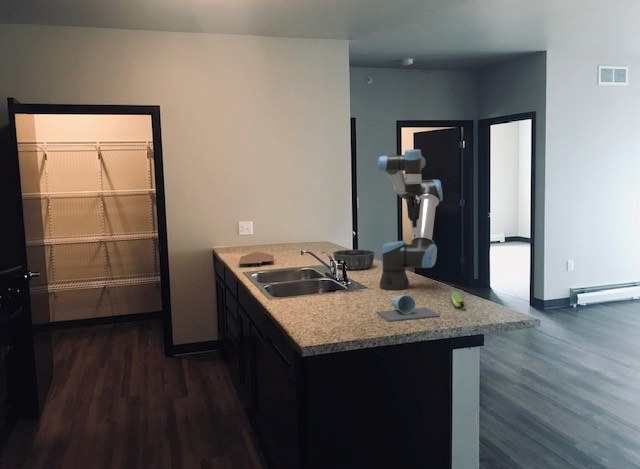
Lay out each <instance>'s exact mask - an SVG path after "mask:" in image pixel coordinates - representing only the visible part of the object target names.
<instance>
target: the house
mask: <svg viewBox="0 0 640 469" xmlns="http://www.w3.org/2000/svg"><path fill="white" fill-rule="evenodd" d="M274 256H275V255H274V254H270V253H266V252H265V253H264V252H262V251H255V252H251V253H247V254H245V255H242V256H240V259H239V262H238V264H239V265H240V266H239V267H241V266H242V265H244V267H247V264H252V265H253V266H256V265H258V264H259V267H260V266H262V263H263V264H264V263H265V264H266V263H267V262H269V263H272V262H275V257H274ZM241 268H242V267H241Z"/></svg>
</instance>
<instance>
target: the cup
mask: <svg viewBox="0 0 640 469" xmlns="http://www.w3.org/2000/svg"><path fill="white" fill-rule="evenodd" d="M391 305H392V307H393V308H394V309H395V310H399V311H400V312H401V313H403V314H410V313H411V312H413V311H414V309H415V308H416V300H415V299H414V297H412V296H411V295H407V294H405V295H397V296H394V297H393V298H392V300H391Z"/></svg>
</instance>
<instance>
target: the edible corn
mask: <svg viewBox="0 0 640 469" xmlns="http://www.w3.org/2000/svg"><path fill="white" fill-rule="evenodd" d="M449 297H450V300H451V302H452V304H453V306H454V308H455V309H456V310H458V311H462V310H465V302H464V301H463V295H462V293H461V292H460V291H453V292H451V293H450V296H449ZM458 307H459V308H458Z"/></svg>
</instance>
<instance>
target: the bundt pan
mask: <svg viewBox="0 0 640 469" xmlns="http://www.w3.org/2000/svg"><path fill="white" fill-rule="evenodd" d="M332 254H333V259H334V262H335V261H338V260H340V261H346V264H347V268H346V269H345V270H348V271H350V270H351V271H352V270H353V271H355V270H358V271H360V270H367V269H369V268H371V267H372V266H373V264H374V259H375V255H376V252H375V251H374V250H368V249H367V250H366V249H343V250H337V251H336V250H335V251H333V252H332ZM337 268H338V269H340V268H342V265H338V267H337Z"/></svg>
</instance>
